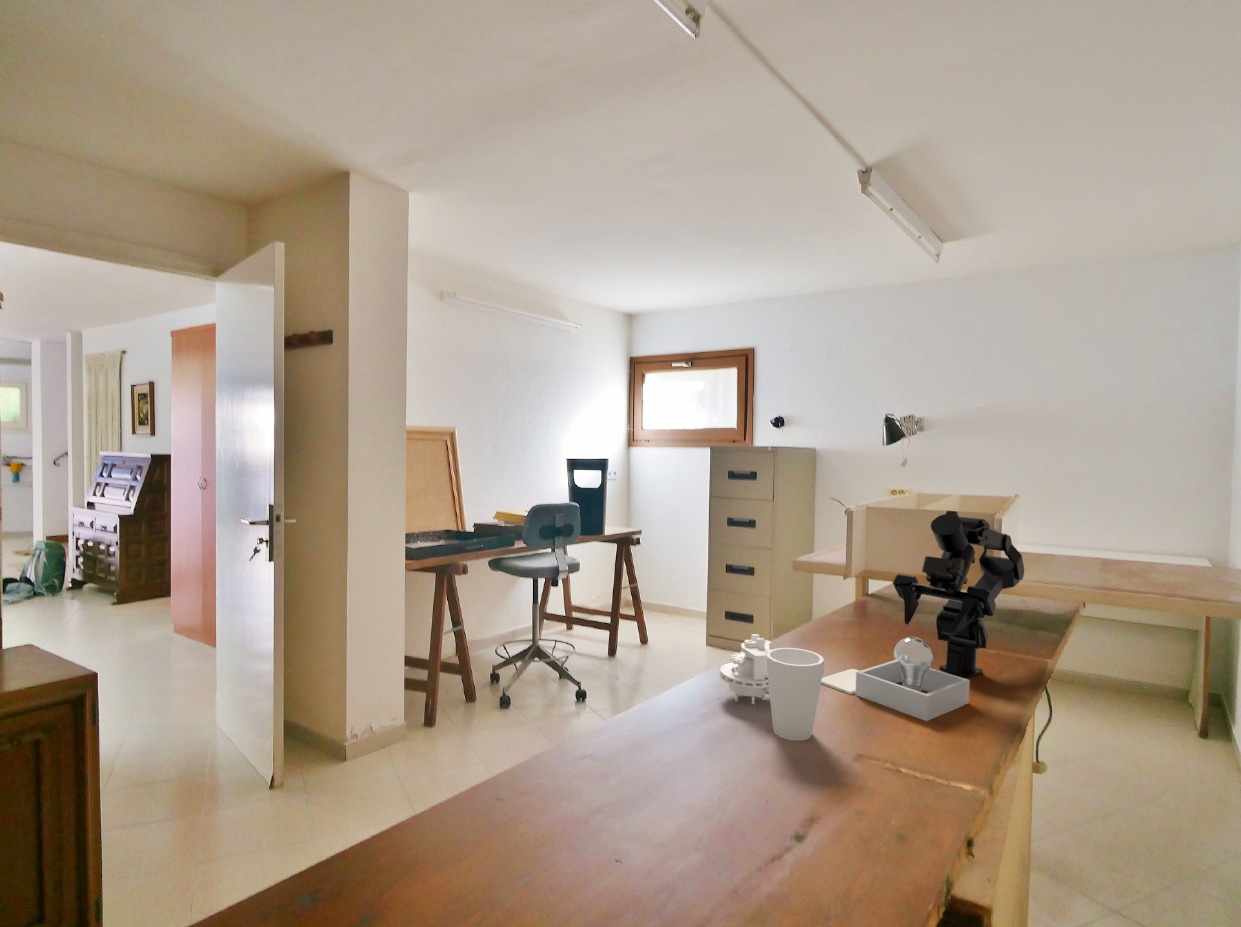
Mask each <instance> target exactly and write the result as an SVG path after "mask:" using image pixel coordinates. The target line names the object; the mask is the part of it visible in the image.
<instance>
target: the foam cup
mask: <svg viewBox="0 0 1241 927" xmlns="http://www.w3.org/2000/svg"><path fill="white" fill-rule="evenodd" d="M766 669H767V673H768V683H769V693H770V695H769V702H770V711H771V712H770V713H771V723H772V724H771V725H772V730H773V734H774V735H776V736H777V735H778V736H777V737H779V738H782V739H784V740H787V741H788V740H789V741H793V742H794V741H795V742H796V741H806V740H809V739H810V738H811V737H812V735H813V730H814V724H815V718H816V714H817V708H818V702H819V696H820V690H821V685H822V684H821V679H822V678H823V676H824V674H825V659H824V657H823V656H822V655H820V654H818V653H816V652H815V651H812V650H811V651H810V650H807V649H804V648H795V647H777V648H773V649H772V648H771V650H770V651H768V652H767V653H766Z"/></svg>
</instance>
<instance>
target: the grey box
mask: <svg viewBox="0 0 1241 927" xmlns="http://www.w3.org/2000/svg"><path fill="white" fill-rule="evenodd" d="M898 683H902V684H903V681H902V678H901V672H900V670H899V668H898V666H897V664H896V662H895V659H894V660H891V661H886V662H884V663H880V664H879V665H878V664H877V665H875V666H871V667H868V668H865V669H862V670H859V671H858V672H856V693H854V695H855V696H858V697H860V698H862V699H865V700H869V701H871V702H874V703H876V704H879V705H881V706H884V707H887V708H890V709H893V710H894V711H898V712H900V713H902V714H907V715H908V716H912V717H914V718H917V719H920V720H922V721H925V722H928V721H931V720H932V719H935V718H937V717H940V716H942V715H945V714H947V713H949V712H952V711H954V710H956V709H959V708H961V707H964V706H966V705H968V704H970V702H969V701H970V684H971V681H970V679H968V678H963V677H961V676H957V675H955V674H952V673H947V672H944V671H943V670H942V671H941V670H938V669H934V668H931V667H930V669H929V670H928V671H927V673H926V674H925V676H924V679H923V683H922V684H921V690H922V689H923V690H922V691H926V692H927V693H924V692H922V691H920V692H919V691H916V690H913V689H910V688H907V687H904V686H903V685H900V684H898ZM965 704H966V705H965Z"/></svg>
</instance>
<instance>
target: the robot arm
mask: <svg viewBox="0 0 1241 927" xmlns="http://www.w3.org/2000/svg"><path fill="white" fill-rule="evenodd" d="M990 525H991V524H990V523H988V521H987V520H986V519H984V518H977V517H966V516H959V513H958V511H957V510H946V512H945V513H944V514H941V515H938V516H937V517H935V518H934V519H933V520H932V521H931V523H930V529H931V532H932V533H933V536H934V539H935V541H936V543H937V546H938V548H939V549H940V550H942V551H943V552H942V554H941V557H936V556H928V555H926V556H925V557H924V562H923V566H922V570H921V572H922V573H924V574H926V577H925V580H926V581H927V582H929V585H928V584H923V583H919V581H918V579H917V577H916V575H915V576H914V575H909V574H908V575H907V574H902V573H900V574H899V573H898V574H897V575H895V576H894V578H893V580H892V585H893V586H894V589H895V591H896V593H897V595H898V597H899V598H900V599H902V600H903V601H904V603H903V604H904V607H903V608H904V615H903V617H904V618H903V619H904V624H905V625H906V626H907V625H909V624H910V622H911V621H912V619H913V617H914V614H915V613H916V610H917V609H918V606H919V604H920V603H919V600H920V599H921V596H922V595H924V596H930V597H935V598H940V599H943V600H947V601H946V603H945V604H944V605H942V609H941V611H940V612H939V613H938V614H937V616H936V622H935V623H936V625H935V626H936V632H937V639H938V641H944V642H947V644H946V659H945V660H946V663H945V664H942V665H939V666H938V668H939V669H940V670H942V671H946V672H949V673H951V674H954V675H955V674H956V675H959V676H962V677H966V678H971V677H973V676H976V675H978V674H981V673H983V668H979V667H977V652H978V651H977V650H979V649H980V650H981V649H986V648H987V646H988V641H989V640H988V637H989V634H988V631H987V629H986V627H985V625H984V622H983V619H985V618H986V616H988V617H992V616H994V614H995V611H996V607H997V606H996V605H997V603H996V602H995V600H996V599H997V597H998V596H999V595H1000V593H1001V592H1002V590H1005V589H1011V588H1014V587H1015V586H1017V585H1018V584H1019V583H1020V581H1022V580H1023V579H1024V576H1025V566H1024V559H1023V556H1022V554H1021V552H1020V551H1019V550H1018V549H1017V548H1016V547H1015V546H1014V545H1013V542H1012V538H1011V535H1010V534H1007V533H1003V532H1000V531H997V530H994V529H992V528H990V527H991V526H990ZM973 546H979V547H983V551H982V553H981V555H980V557H979V558H978V561H979V566H980V572H981V575H982V576H981V577H980V578H979V579H978V580H977V582H976V583H975V584H974V585H970V586H967V590H966V591H962V589H963V587H964V585H967V583H968V581H969V580H968V578H967V576H968V574H969V571H970V569H971V565H972V564H975V563H976V557H975V554H976V551H975V548H974V547H973ZM988 550H993V551H999V552H1004V554H1005V556H1007V557H1001V556H994V555H988V554H987V551H988Z"/></svg>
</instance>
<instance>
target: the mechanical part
mask: <svg viewBox="0 0 1241 927" xmlns="http://www.w3.org/2000/svg"><path fill="white" fill-rule="evenodd" d="M740 648H741V650H740V651H739V652H733V654H731V655H730V662H729V663H728V662H727V663H724V664H723V665H722V666H720V668H719V678H720V679H721V680H722V681H724V682H726V683H727V684H728V688H729V690H730V691H731V692H733V693H734V702H738V701H739V695H740V696H744V697H751V705H752V704H753V705H755V704H756V703H755V699H756V698H755V697H761V701H763V700H764V701H765V698H766V695H769V696H770V693H769V683H768V673H767V669H766V653H767V652H768V651H770V650H772V641H771V640H767V639H765V638H764V637H760V634H758V633H755V634H754V633H753V634H750V639H744V642H742V643H740ZM753 705H752V706H753Z"/></svg>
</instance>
